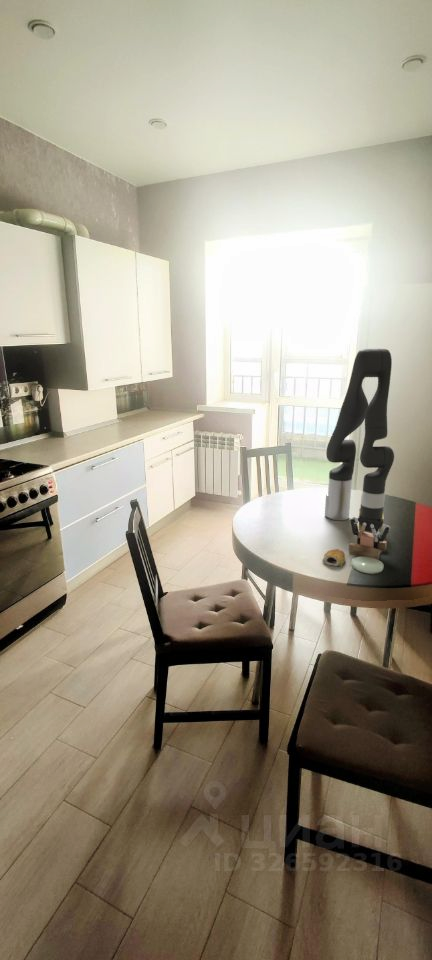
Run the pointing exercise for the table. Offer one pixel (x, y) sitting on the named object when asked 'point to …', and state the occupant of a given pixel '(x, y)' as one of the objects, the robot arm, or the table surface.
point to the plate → (367, 565)
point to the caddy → (367, 549)
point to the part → (367, 539)
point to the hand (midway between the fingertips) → (367, 548)
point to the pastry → (334, 557)
